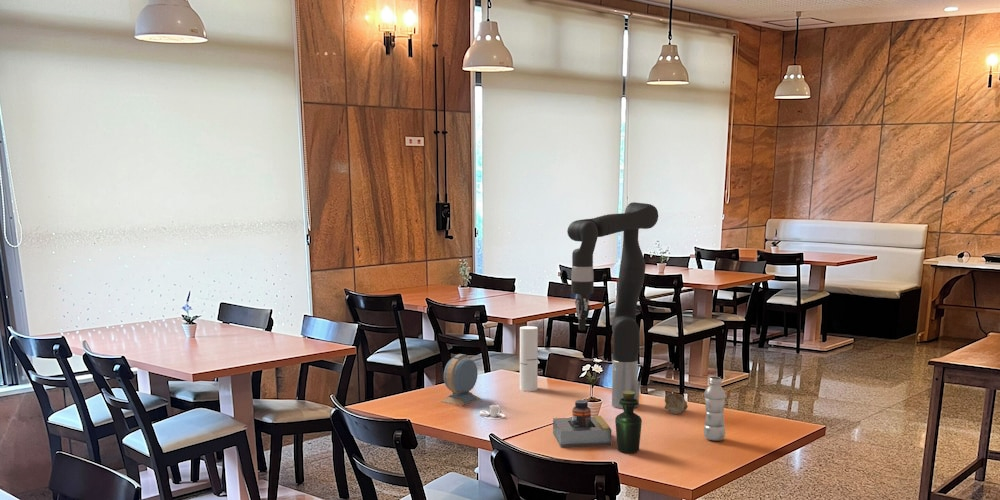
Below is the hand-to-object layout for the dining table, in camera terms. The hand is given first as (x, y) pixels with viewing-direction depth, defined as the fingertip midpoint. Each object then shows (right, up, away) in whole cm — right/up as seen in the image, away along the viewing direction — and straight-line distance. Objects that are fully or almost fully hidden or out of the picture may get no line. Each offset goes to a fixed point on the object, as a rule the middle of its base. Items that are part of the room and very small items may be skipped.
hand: (582, 329), depth 263 cm
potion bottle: (+11, -34, -28) cm, 45 cm away
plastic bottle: (+40, -34, -18) cm, 55 cm away
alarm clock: (-43, -30, +30) cm, 61 cm away
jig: (-2, -33, -17) cm, 37 cm away
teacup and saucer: (-31, -32, +12) cm, 46 cm away
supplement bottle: (-2, -33, -17) cm, 37 cm away
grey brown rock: (+35, -31, +14) cm, 49 cm away
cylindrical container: (-17, -29, +47) cm, 57 cm away
